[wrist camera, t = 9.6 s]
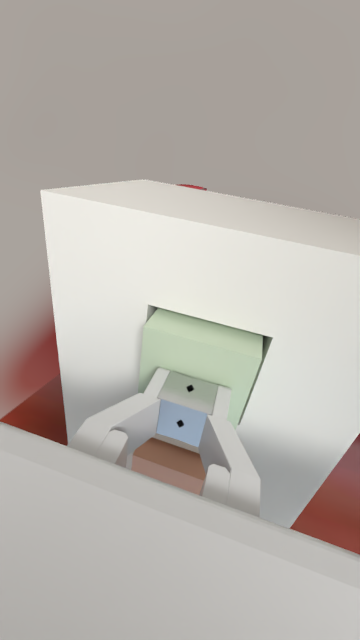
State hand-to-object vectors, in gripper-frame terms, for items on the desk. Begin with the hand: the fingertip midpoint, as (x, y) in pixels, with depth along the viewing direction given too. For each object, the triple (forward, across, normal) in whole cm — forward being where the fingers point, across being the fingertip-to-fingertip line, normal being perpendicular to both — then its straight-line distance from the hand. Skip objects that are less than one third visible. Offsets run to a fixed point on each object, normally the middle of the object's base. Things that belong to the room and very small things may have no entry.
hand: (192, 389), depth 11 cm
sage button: (+3, 0, +2) cm, 3 cm away
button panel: (+6, 0, +24) cm, 25 cm away
